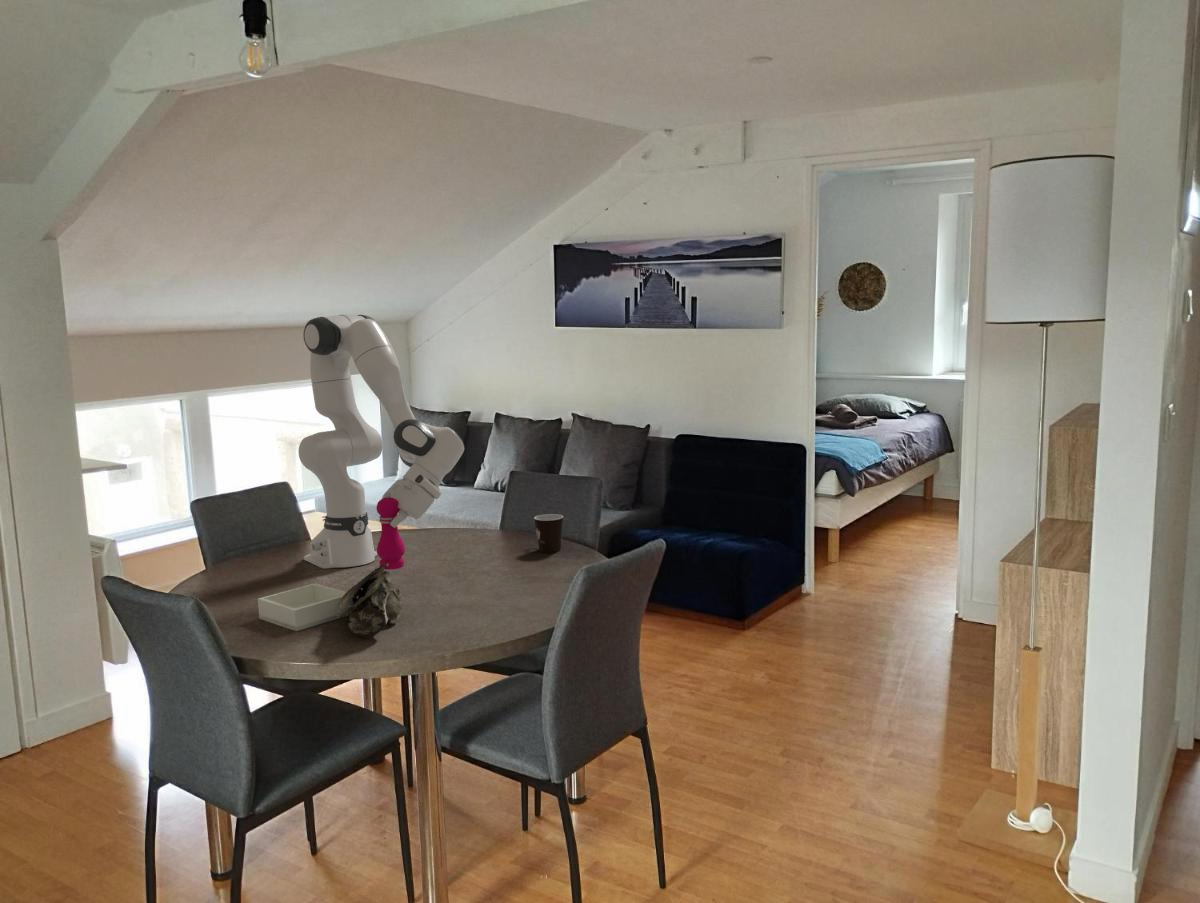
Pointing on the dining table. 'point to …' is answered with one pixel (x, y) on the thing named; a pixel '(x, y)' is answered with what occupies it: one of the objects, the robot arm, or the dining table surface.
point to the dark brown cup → (549, 532)
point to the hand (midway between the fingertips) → (386, 523)
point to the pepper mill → (389, 534)
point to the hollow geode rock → (371, 604)
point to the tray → (301, 606)
